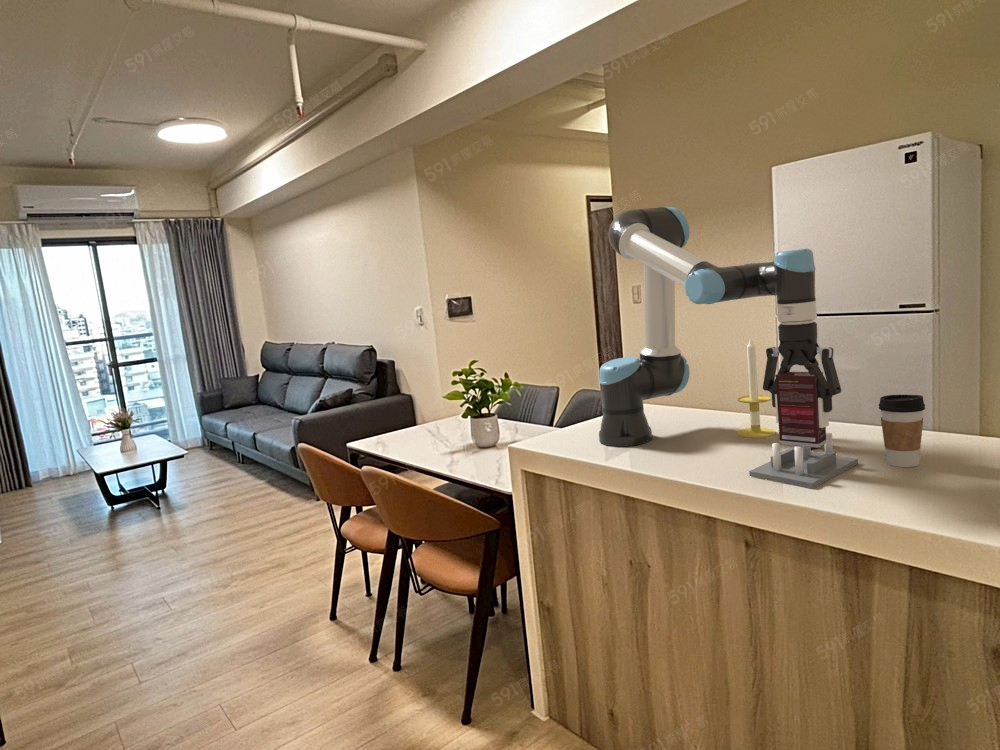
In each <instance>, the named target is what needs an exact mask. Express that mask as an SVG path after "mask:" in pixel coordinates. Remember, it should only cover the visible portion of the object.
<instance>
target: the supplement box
mask: <svg viewBox="0 0 1000 750" xmlns="http://www.w3.org/2000/svg"><path fill="white" fill-rule="evenodd" d="M821 372H822V371H821ZM822 374H823V375H824V371H823V372H822ZM775 379H776V391H777V407H778V423H777V424H778V434H779V435H778V436H779V437H778V438H779V443H780V445H787V446H789V445H790V446H795V445H798V446H808V447H817V448H821V447H822V446H823V445H824V444H825V443H826V433H827V430H826V429H827V426H826V427H824V428H819V416H818V398H819V397H821V394H820V392H819V390H818V388H817V376H816V375H810V373H809V372H808V371H789V372H787V373H784V374H783V373H779V374H778V373H777V374H775ZM817 448H816V449H817Z"/></svg>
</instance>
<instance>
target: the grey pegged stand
mask: <svg viewBox="0 0 1000 750" xmlns="http://www.w3.org/2000/svg"><path fill="white" fill-rule="evenodd" d="M823 447H824V453H823V452H818V451H811V450H812V449H811V447H808V446H803V447H801V446H795V445H792V446H791V447H790V448H789V447H788V448H787V449H785V450H783V451H781V444H780V442H774V443H772V444H771V449H772V455H771V456H770V461H769V462H766V463H764V464H761V465H760V466H758V467H755V468H753V469H751V470H748V471H749V472H748V473H749V474H748V475H749V477H750V476H751V477H752V478H755V477H756V479H760V478H761V480H765V479H767V480H766V481H770V480H772V482H775V481H776V483H782V484H784V485H785V484H786V485H791V486H796V487H800V488H805V489H812V490H813V489H815V488H817V487H819V486H820V485H822V484H824V483H825V482H828V481H829V480H831V479H833V478H835V477H836V476H838V475H840V474H842V473H843V472H845V471H847V470H849V469H851V468H853V467H854V466H855V467H856V465H858V464H859V459H858V458H857V457H851V456H850V457H849V456H845V455H837V452H836V451H834V450H833V449H834V447H833V432H826V443H825V444H824V446H823ZM751 477H750V478H751Z"/></svg>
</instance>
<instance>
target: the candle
mask: <svg viewBox="0 0 1000 750" xmlns="http://www.w3.org/2000/svg"><path fill="white" fill-rule="evenodd" d="M746 352H747V353H746V356H747V370H748V372H747V373H748V374H747V375H748V389H749V391H748V392H749V395H743V396H739V397H738V398H737V402H739V403H743V404H749V405H748V406H749V418H750V419H749V420H750V423H749V424H750V427H746V428H741V429H739V430H737V431H736V435H737V436H739V437H742V438H750V439H763V438H764V439H765V438H769V437H772V436H775V435H776V431H775V430H774V429H772V428H767V427H761V413H760V404H761V403H767V402H769V401H772V396H771V397H770V396H768V395H762V394H761V395H760V394H759V393H758V391H759V390H758V373H757V354H756V345H755V344H754V342H753V339H752V337H751V336H750V338H749V341H748V344H747V346H746Z"/></svg>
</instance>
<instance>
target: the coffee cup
mask: <svg viewBox="0 0 1000 750" xmlns="http://www.w3.org/2000/svg"><path fill="white" fill-rule="evenodd" d="M925 406H926V404H925V401H924V396H923V395H919V394H888V395H887V394H886V395H883V396H881V397H880V398H879V403H878V410H880V414H881V417H880V422H881V428H882V429H881V430H882V437H883V443H884V445H883V446H884V450H885V451H884V452H885V461H886V463H887V464H888V465H889V466H892V467H898V468H915V467H917V466H919V465H920V456H921V446H922V444H921V443H922V435H923V424H924V417H923V414H924V411H925V409H926V407H925Z"/></svg>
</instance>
